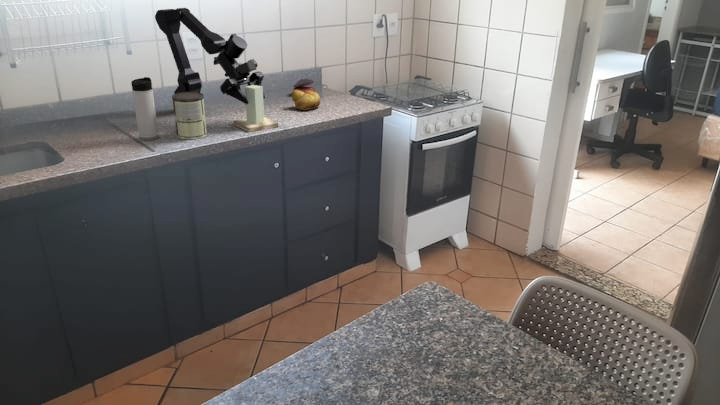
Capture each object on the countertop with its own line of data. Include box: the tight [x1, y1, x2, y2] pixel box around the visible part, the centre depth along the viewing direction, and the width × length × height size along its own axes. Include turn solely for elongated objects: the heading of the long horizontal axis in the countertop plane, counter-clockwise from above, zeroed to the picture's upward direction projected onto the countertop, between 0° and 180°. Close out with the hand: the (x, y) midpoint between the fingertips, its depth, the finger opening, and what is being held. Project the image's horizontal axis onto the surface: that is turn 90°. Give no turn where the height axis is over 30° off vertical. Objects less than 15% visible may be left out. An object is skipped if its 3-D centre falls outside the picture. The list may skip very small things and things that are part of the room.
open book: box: [233, 116, 279, 133], centre depth 202 cm, size 12×12×2 cm
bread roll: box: [291, 90, 321, 111], centre depth 226 cm, size 13×10×8 cm
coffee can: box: [171, 92, 208, 140], centre depth 186 cm, size 10×10×14 cm
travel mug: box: [131, 76, 160, 142], centre depth 181 cm, size 6×7×20 cm
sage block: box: [244, 85, 265, 124], centre depth 199 cm, size 4×4×13 cm
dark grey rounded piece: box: [292, 78, 316, 92], centre depth 248 cm, size 11×10×10 cm
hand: (256, 100), depth 198 cm, fingers open, 9 cm apart
